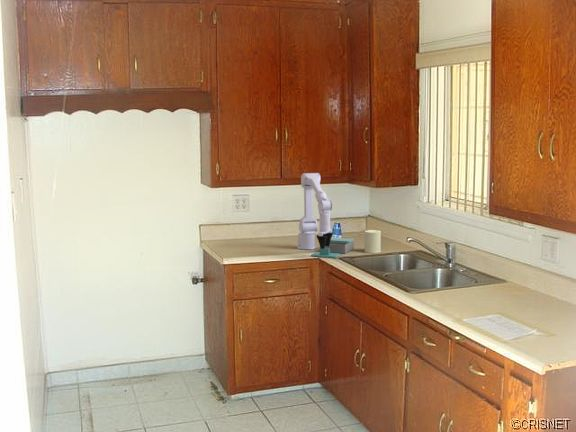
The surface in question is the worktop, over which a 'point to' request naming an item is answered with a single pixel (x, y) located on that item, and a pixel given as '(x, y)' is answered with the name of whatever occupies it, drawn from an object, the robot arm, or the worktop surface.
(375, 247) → the can
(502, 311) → the worktop surface
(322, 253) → the lid
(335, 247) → the tub
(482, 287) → the worktop surface
